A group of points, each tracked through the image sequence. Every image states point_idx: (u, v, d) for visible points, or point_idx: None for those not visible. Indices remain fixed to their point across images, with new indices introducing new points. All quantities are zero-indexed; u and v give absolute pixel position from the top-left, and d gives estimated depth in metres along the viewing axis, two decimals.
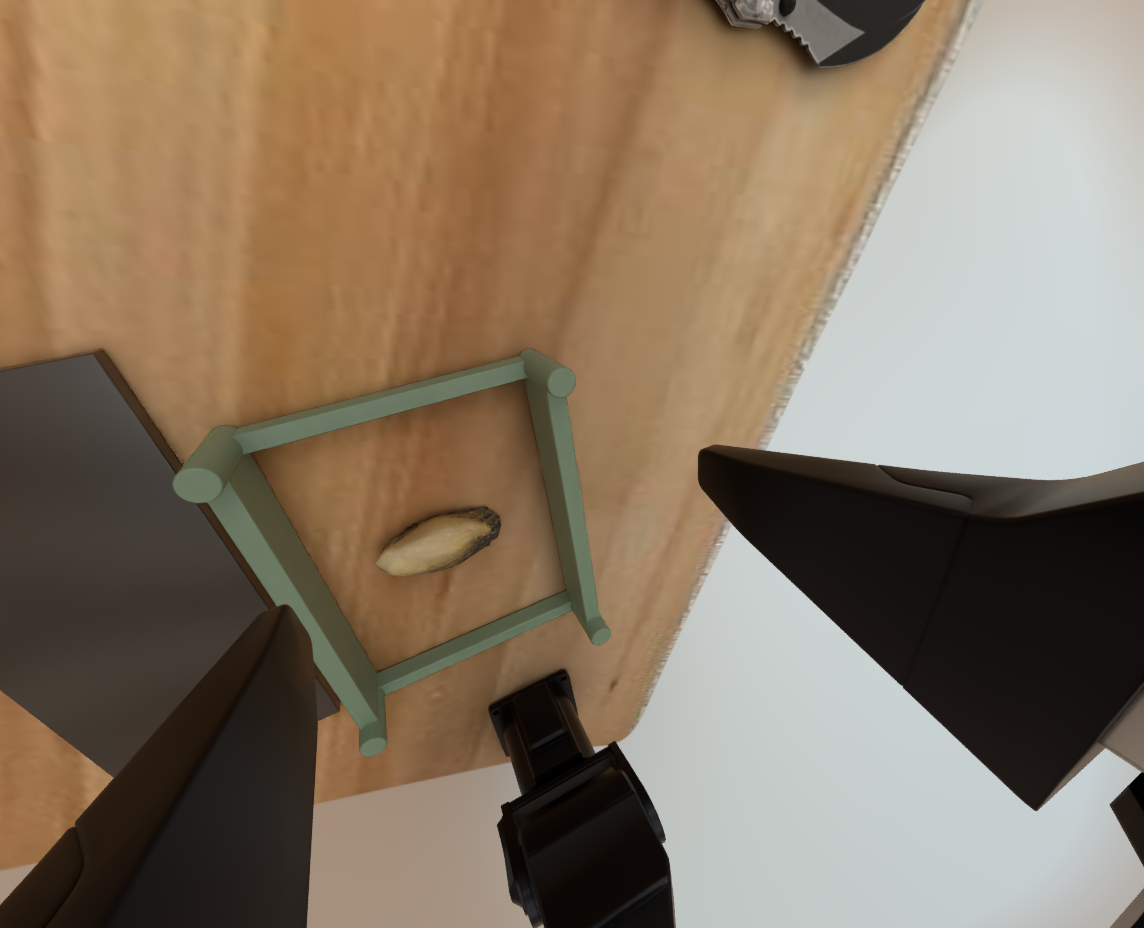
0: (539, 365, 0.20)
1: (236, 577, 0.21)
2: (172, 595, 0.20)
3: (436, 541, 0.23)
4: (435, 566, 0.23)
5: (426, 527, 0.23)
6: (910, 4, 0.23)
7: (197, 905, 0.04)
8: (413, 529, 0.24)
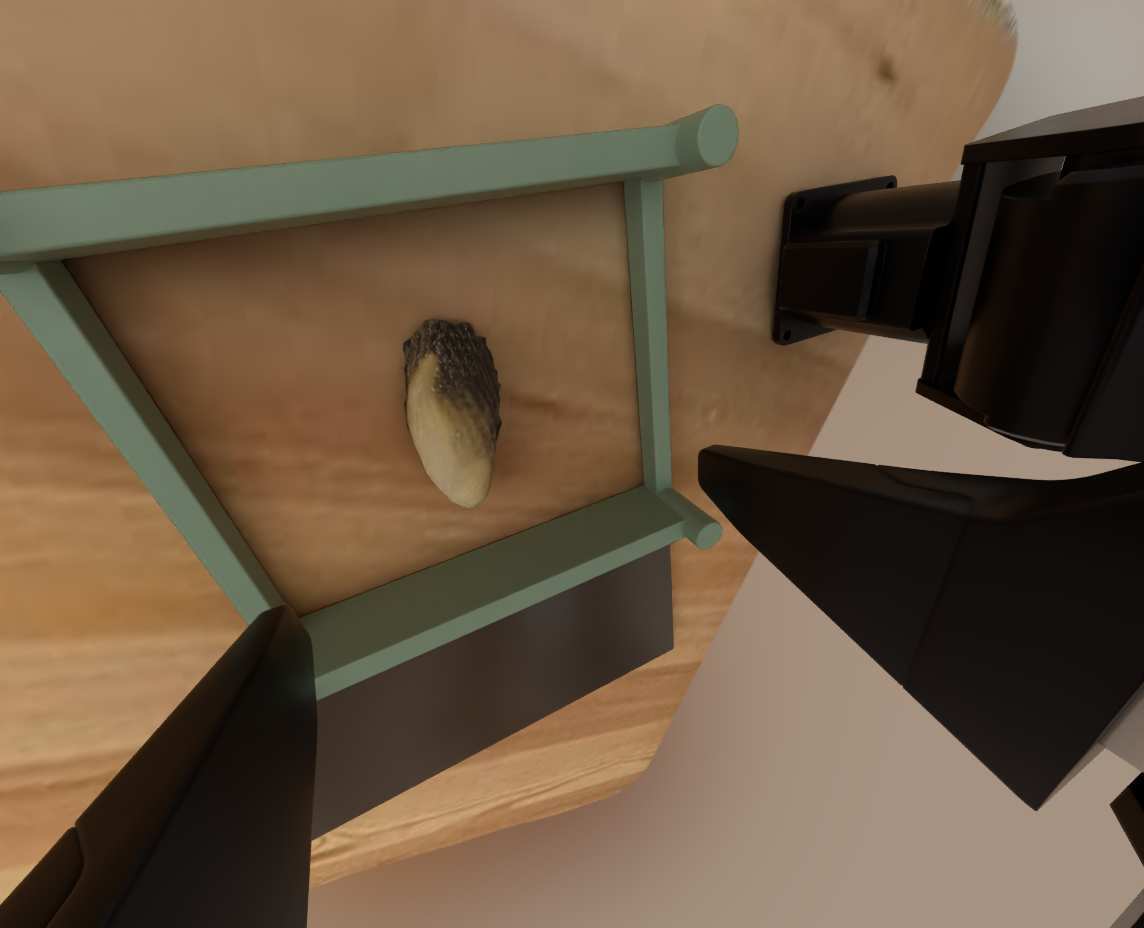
0: None
1: None
2: (471, 657, 0.21)
3: (428, 453, 0.14)
4: (479, 449, 0.15)
5: None
6: None
7: (197, 905, 0.04)
8: None
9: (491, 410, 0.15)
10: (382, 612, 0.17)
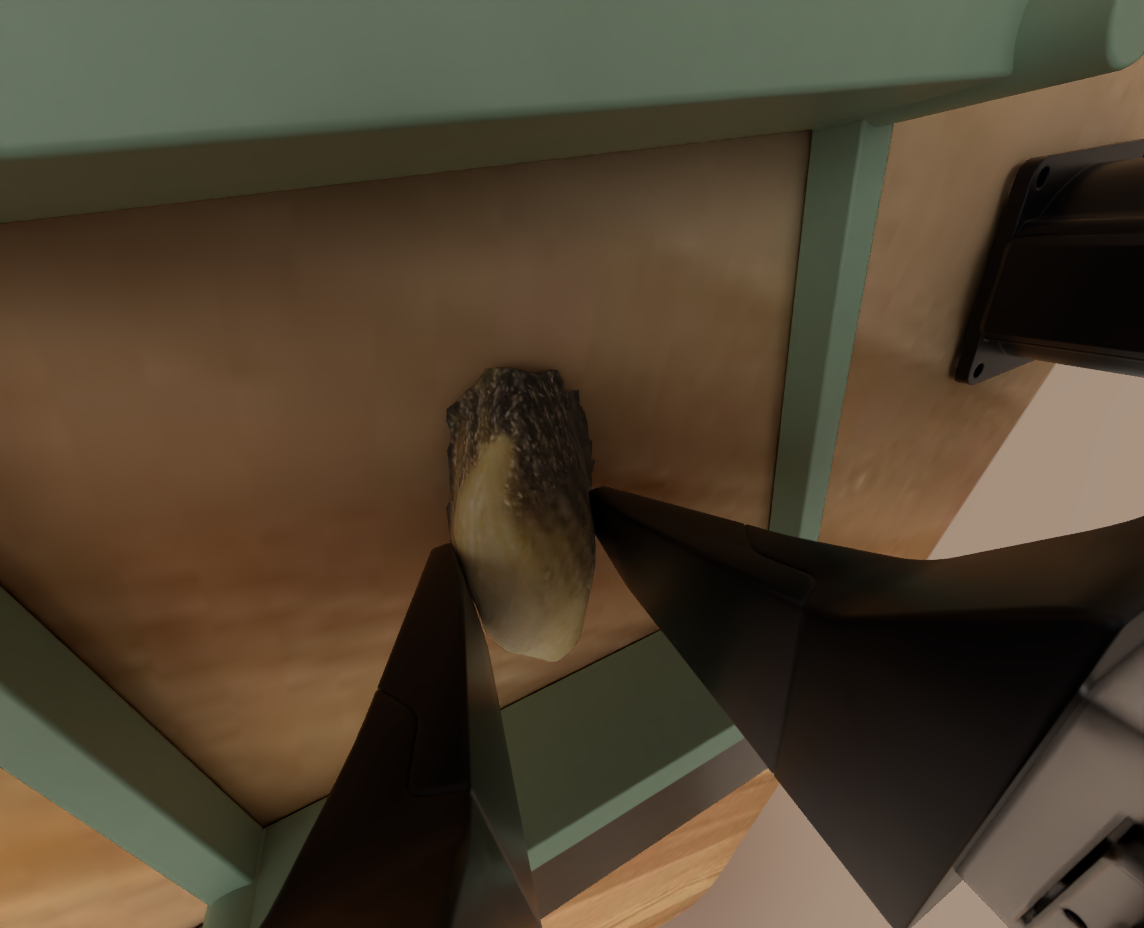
0: None
1: None
2: None
3: (494, 608, 0.08)
4: (574, 587, 0.09)
5: None
6: None
7: (486, 752, 0.05)
8: None
9: (592, 516, 0.09)
10: None
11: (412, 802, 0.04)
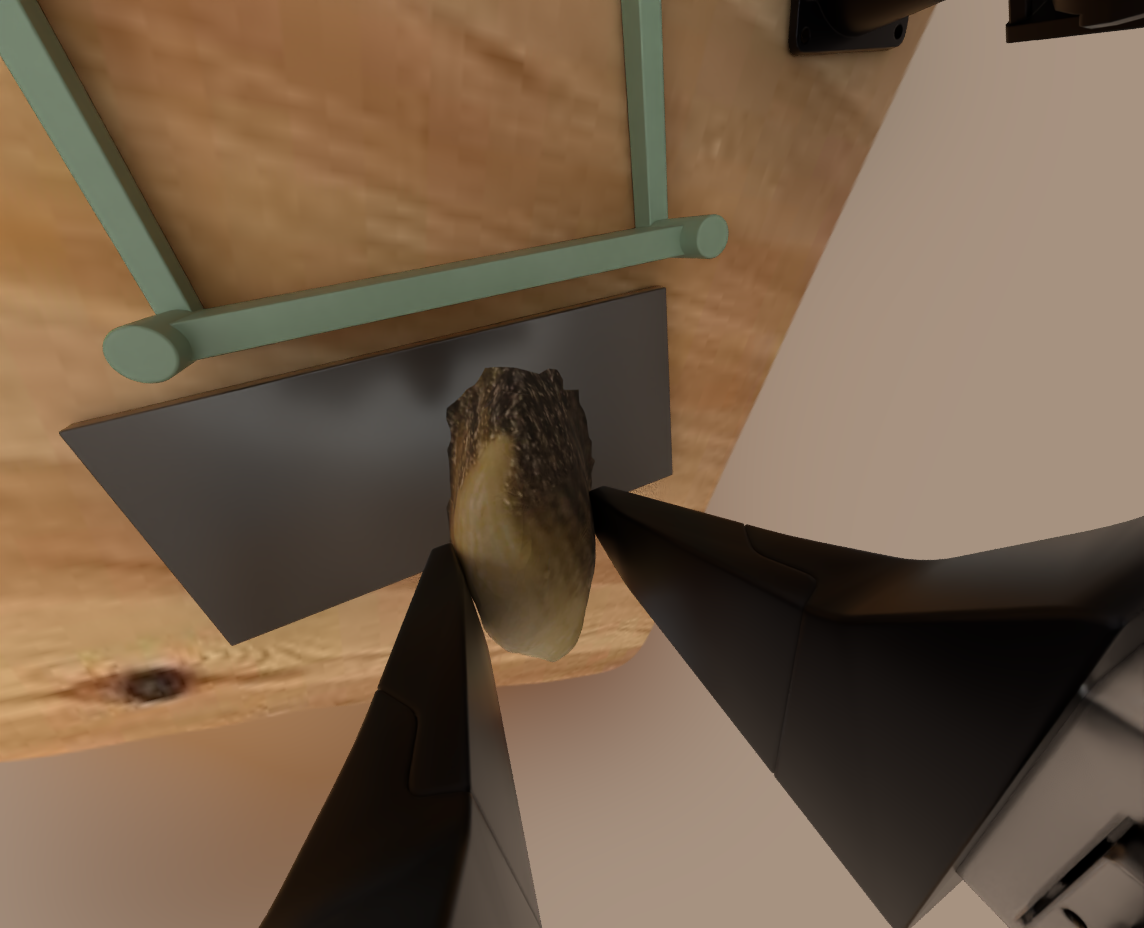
0: None
1: (416, 357, 0.16)
2: (431, 418, 0.18)
3: (493, 607, 0.08)
4: (574, 586, 0.09)
5: None
6: None
7: (486, 752, 0.05)
8: None
9: (592, 515, 0.09)
10: (307, 292, 0.14)
11: (412, 802, 0.04)
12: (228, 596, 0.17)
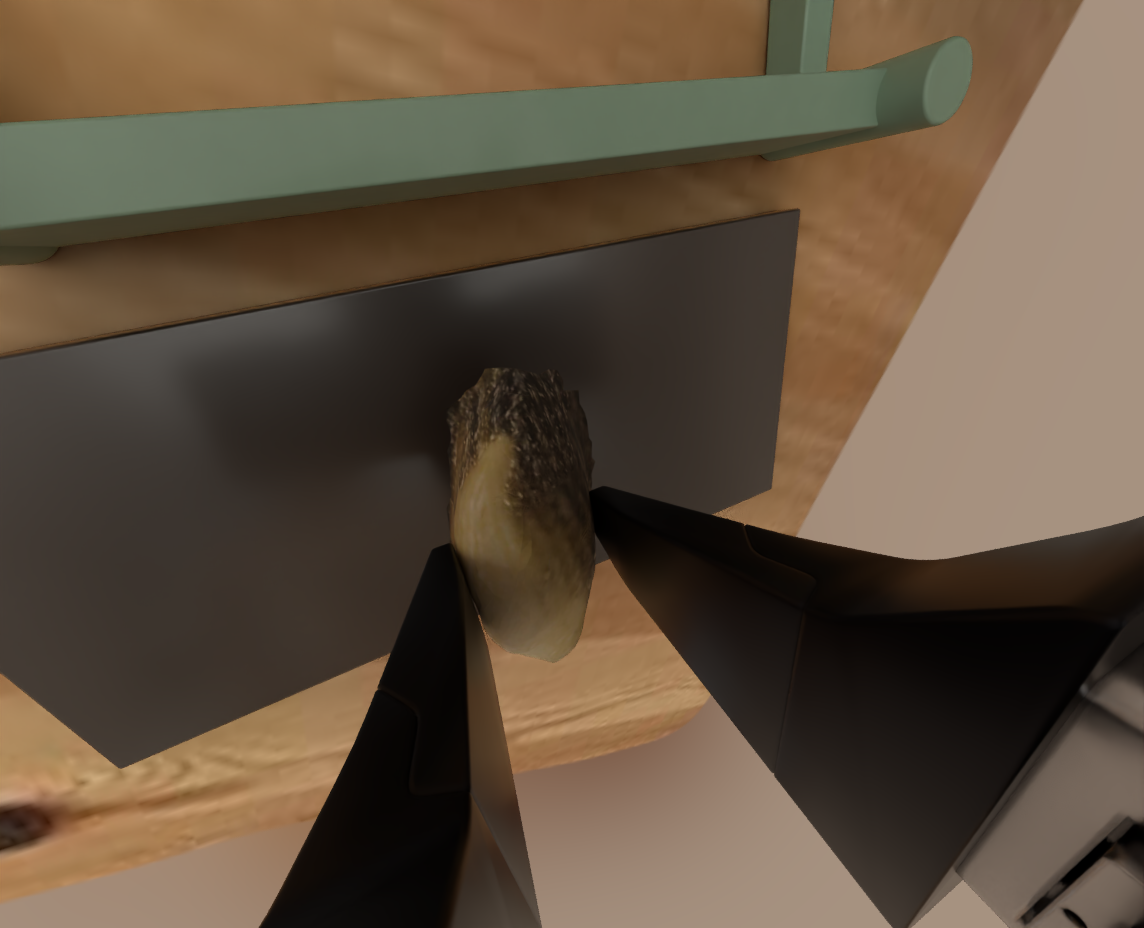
0: None
1: (423, 297, 0.10)
2: (445, 403, 0.11)
3: (494, 607, 0.08)
4: (574, 586, 0.09)
5: None
6: None
7: (487, 752, 0.05)
8: None
9: (592, 516, 0.09)
10: None
11: (412, 802, 0.04)
12: (107, 696, 0.10)
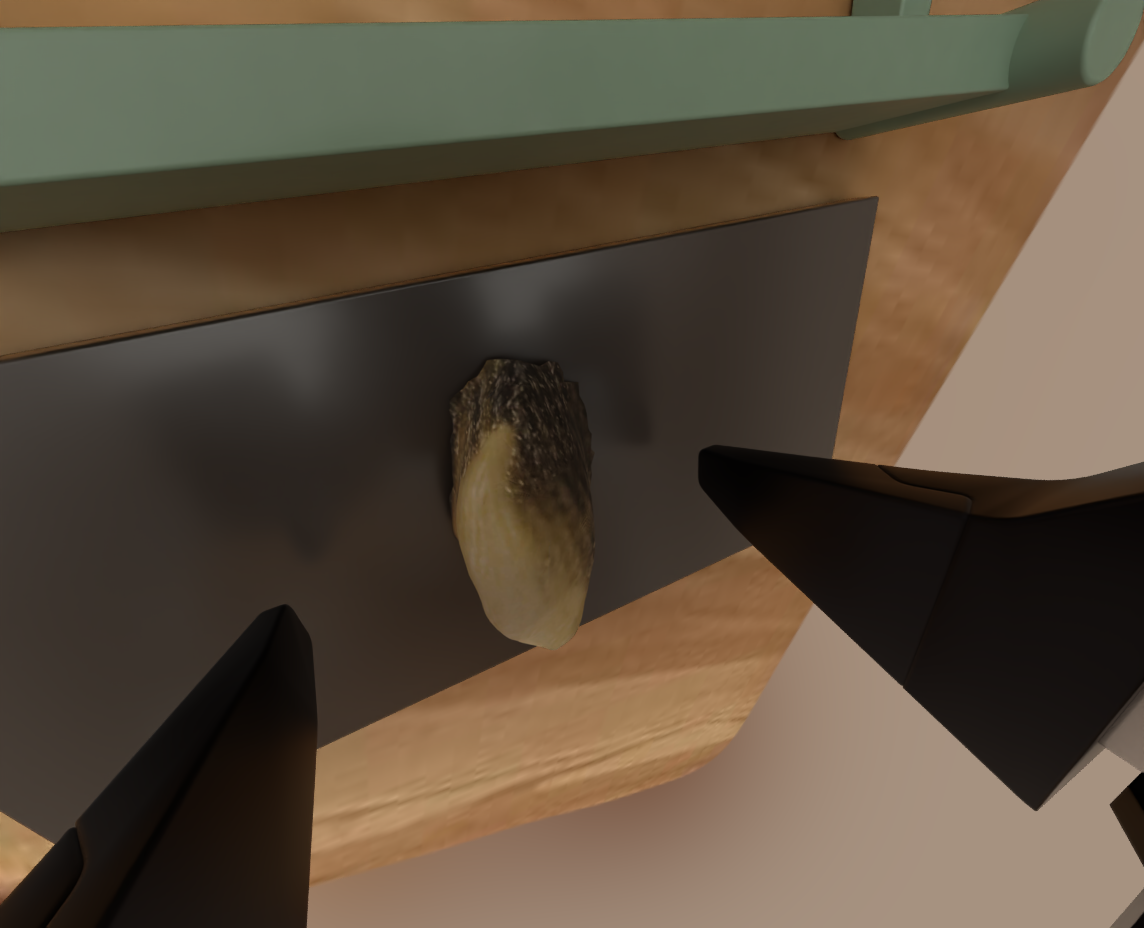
0: None
1: (444, 301, 0.08)
2: None
3: (495, 594, 0.08)
4: (574, 574, 0.09)
5: None
6: None
7: (197, 905, 0.04)
8: None
9: (592, 505, 0.09)
10: None
11: None
12: (61, 781, 0.09)
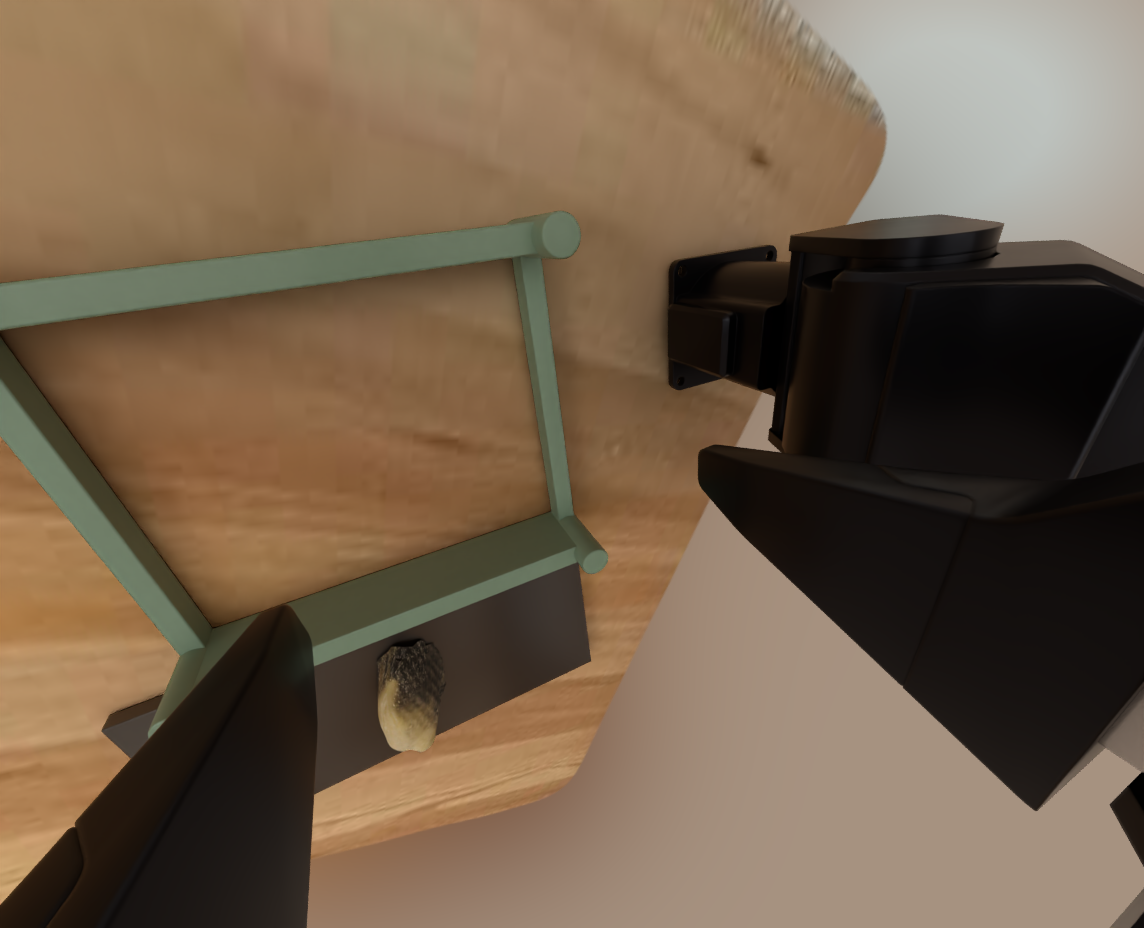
0: None
1: None
2: None
3: (390, 738, 0.22)
4: (425, 725, 0.23)
5: None
6: None
7: (197, 905, 0.04)
8: None
9: (435, 696, 0.23)
10: None
11: None
12: None
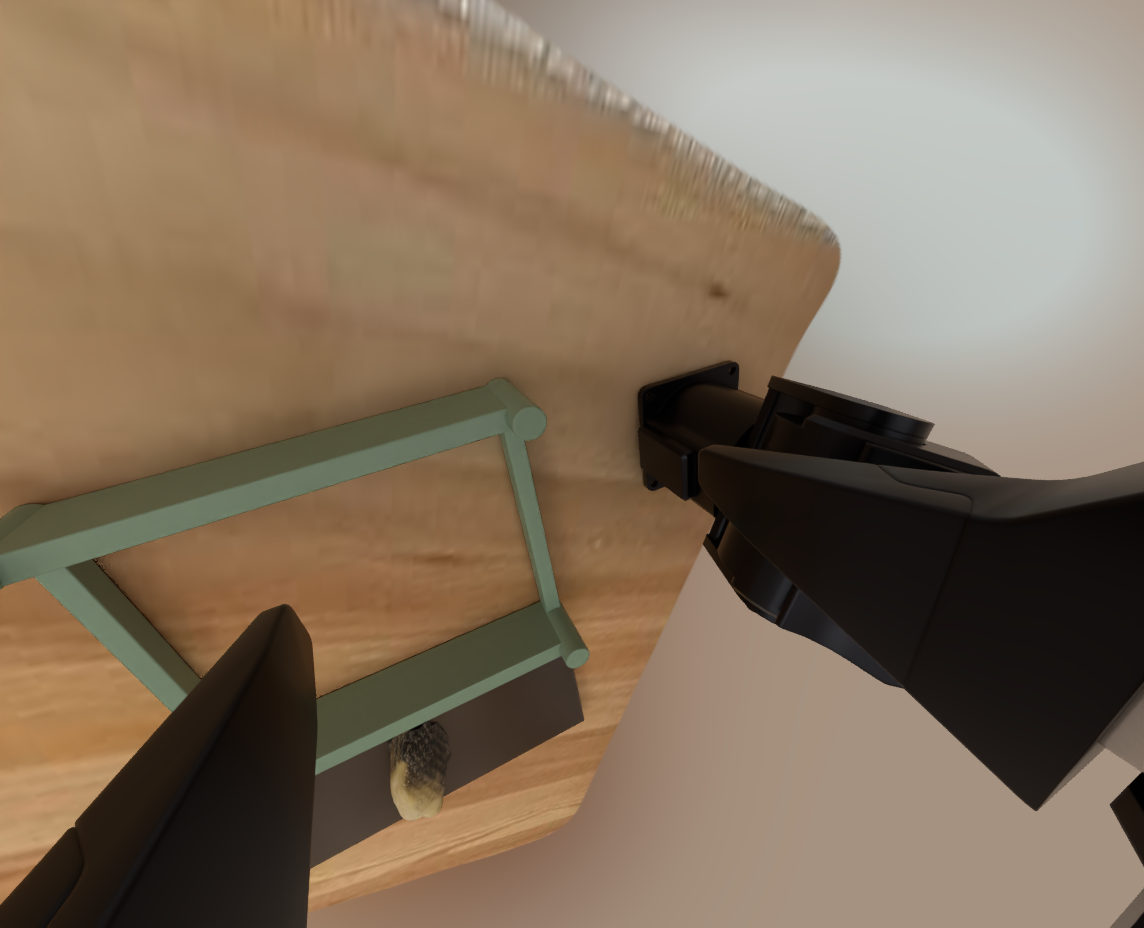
0: None
1: None
2: None
3: (402, 812, 0.25)
4: (433, 798, 0.26)
5: None
6: None
7: (197, 905, 0.04)
8: None
9: (441, 770, 0.26)
10: None
11: None
12: None
